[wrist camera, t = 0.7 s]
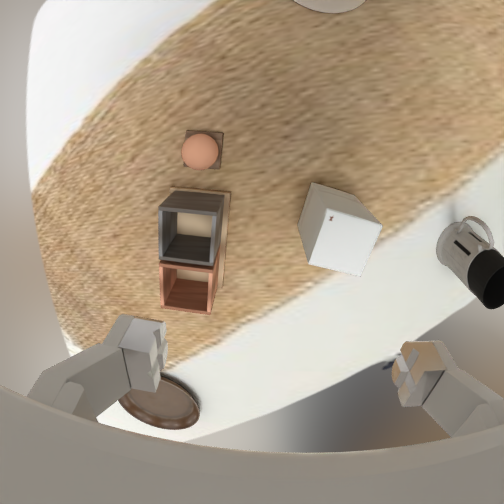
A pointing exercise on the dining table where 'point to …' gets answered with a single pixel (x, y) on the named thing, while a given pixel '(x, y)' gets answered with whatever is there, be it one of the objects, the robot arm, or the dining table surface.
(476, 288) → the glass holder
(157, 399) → the plant saucer
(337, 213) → the supplement box
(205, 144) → the ball
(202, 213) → the stacked cubby shelf
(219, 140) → the ball stand
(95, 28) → the dining table surface
